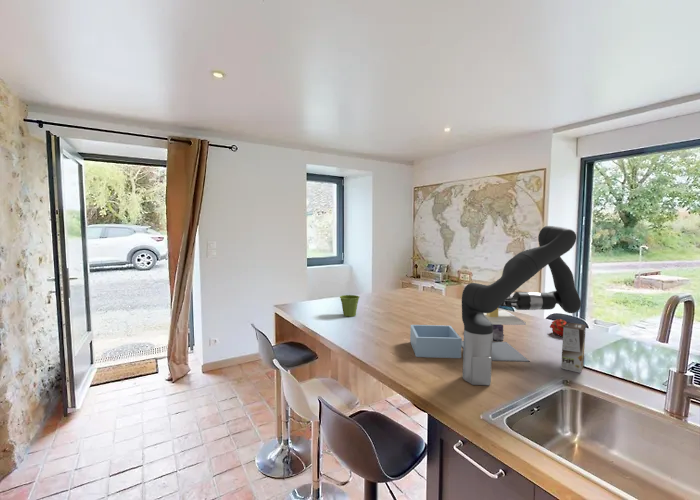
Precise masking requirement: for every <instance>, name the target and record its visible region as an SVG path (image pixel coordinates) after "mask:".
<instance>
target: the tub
mask: <svg viewBox="0 0 700 500" xmlns="http://www.w3.org/2000/svg"><path fill="white" fill-rule="evenodd" d="M409 332H410V336H409V337H410V340H409V341H410V345H411V347H412V350H413V352H414V355H415V357H416V358H440V359H441V358H442V359H444V358H445V359H446V358H447V359H462V346H461V345H462V341H463V339H462V337H461V336H460V335H459V334H458V333H457V331H456V330H455V329H454V328H453V327H452V325H442V324H441V325H439V324H438V325H436V324H410V331H409Z"/></svg>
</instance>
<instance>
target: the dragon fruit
mask: <svg viewBox="0 0 700 500" xmlns="http://www.w3.org/2000/svg"><path fill="white" fill-rule="evenodd" d="M567 322H568V321H566V320H564V319H561V318H557V319H555V320H552V321H551V324H550V326H549V328H550V329H551V330H552V333H553V334H554V335H555V334H556V335H558V336H559V337H560V338H561V337H562V338H563V326H564V325H565V324H566V323H567Z"/></svg>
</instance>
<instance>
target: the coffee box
mask: <svg viewBox="0 0 700 500" xmlns="http://www.w3.org/2000/svg"><path fill="white" fill-rule="evenodd" d="M566 322H567V323H566V324H565V325H564V326H563V337H562V347H561V361H560V362H561V363H560V367H561V369H563V370H567V371H571V372H574V373H582V370H583V368H584V362H585V361H584V360H585V343H586V329H587V328H586V324H581V323H575V322H569V321H566Z"/></svg>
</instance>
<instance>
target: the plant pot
mask: <svg viewBox="0 0 700 500" xmlns="http://www.w3.org/2000/svg"><path fill="white" fill-rule="evenodd" d="M360 298H361V297H360V296H359V295H357V294H356V295H355V294H345V295H340V296H339V299H340V301H341V307H342V313H343V314H342V315H343V316H344V317H345V318H346V317H350V318H352V317H356V315H357V308H358V303H359V300H360Z"/></svg>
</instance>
